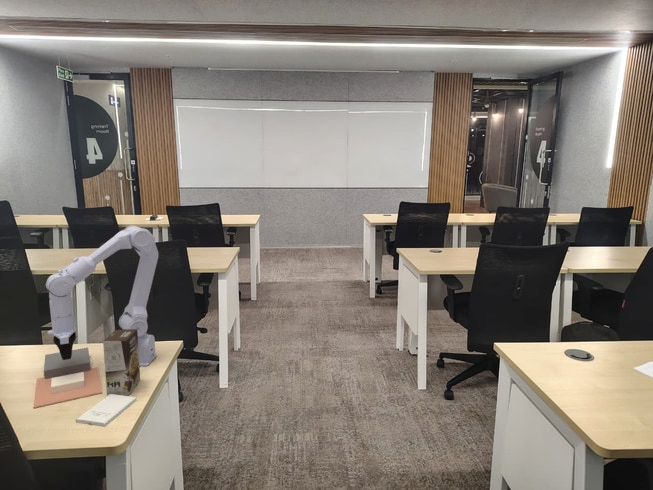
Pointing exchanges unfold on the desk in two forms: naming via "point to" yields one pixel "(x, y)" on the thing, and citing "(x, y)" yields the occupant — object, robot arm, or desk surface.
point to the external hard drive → (106, 410)
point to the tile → (67, 382)
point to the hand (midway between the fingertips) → (66, 358)
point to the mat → (47, 398)
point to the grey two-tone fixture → (66, 363)
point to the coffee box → (121, 362)
